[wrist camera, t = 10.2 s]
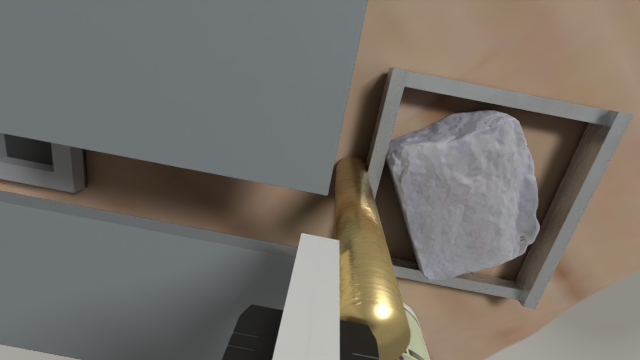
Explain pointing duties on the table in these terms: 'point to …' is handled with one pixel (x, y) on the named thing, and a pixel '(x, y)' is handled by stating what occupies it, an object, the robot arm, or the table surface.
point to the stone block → (466, 192)
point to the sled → (543, 257)
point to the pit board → (42, 163)
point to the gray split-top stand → (162, 161)
